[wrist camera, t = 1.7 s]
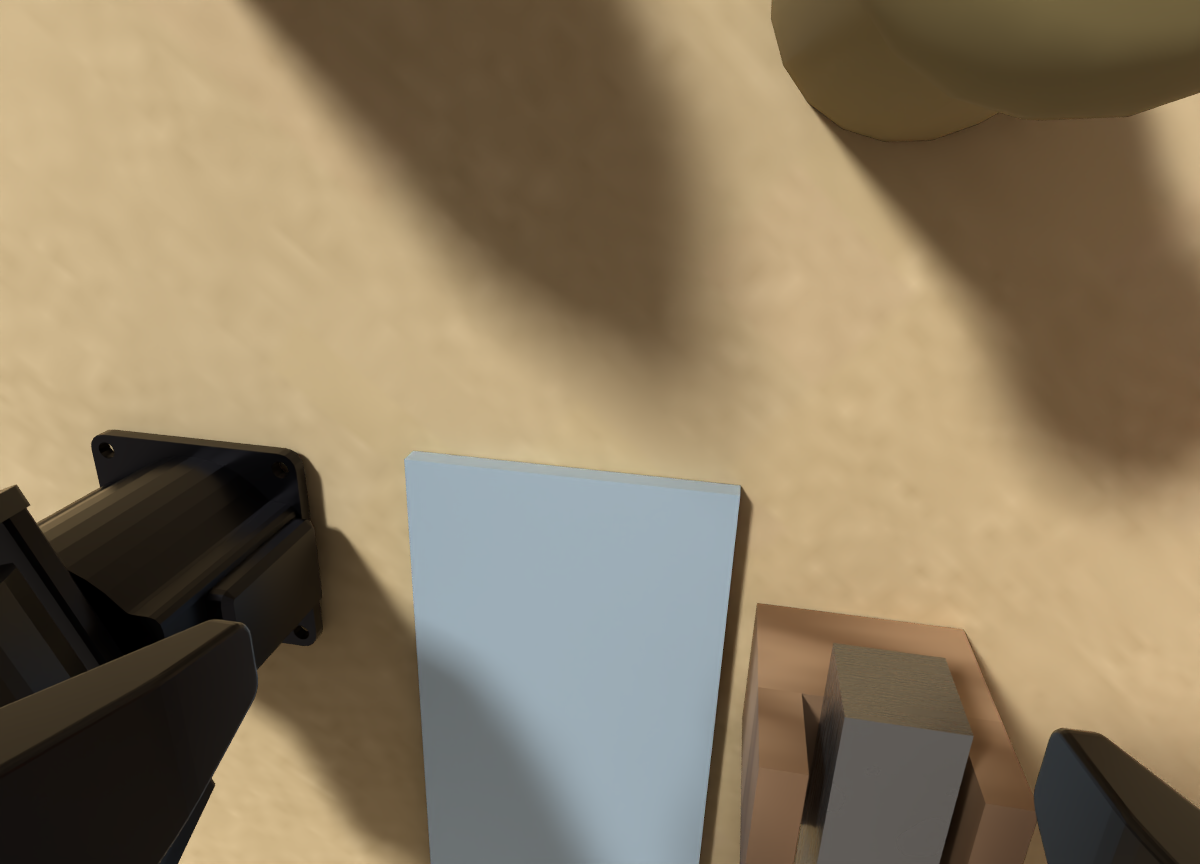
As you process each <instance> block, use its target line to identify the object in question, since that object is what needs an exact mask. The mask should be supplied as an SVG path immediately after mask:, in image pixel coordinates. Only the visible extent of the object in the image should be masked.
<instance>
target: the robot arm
mask: <svg viewBox="0 0 1200 864" xmlns="http://www.w3.org/2000/svg"><path fill="white" fill-rule="evenodd" d="M109 444H110V445H111V446H112V447H113V449H114V451H115V452H114V451H113V450H112V449H111V448H110V445H109ZM91 448H92V453H93V457H94V462H95V466H96V471H97V475H98V479H99V484H100V488H98V489H96V490H95V491H93V492H91V493H89V494H87V495H86V496H84V497H82V498H80V499H79V500H77V501H75V502H73V503H71V504H70V505H68V506H66V507H64V508H62V509H61V510H59V511H57V512H55V513H54V514H52V515H50V516H48V517H46V518H45V519H43V520H41V521H39V522H38V523H36V522H35V520H34V519H33V517H32V516H31V514H30V513H29V511H28V510H27V507H28V506H30V504H29V502H28V501H27V499H26V498H25V496H24V495H23V493H22V492H21V490H20V489H19V487H18V486H17V485H13V486H11V487H8V488H5V489H3V490H0V864H178V862H179V860H180V858H181V856H182V854H183V852H184V850H185V848H186V846H187V843H188V841H189V839H190V837H191V835H192V833H193V831H194V829H195V827H196V825H197V822H198V820H199V818H200V816H201V814H202V812H203V810H204V808H205V806H206V804H207V801H208V799H209V797H210V795H211V793H212V791H213V789H214V787H215V783H214V781H213V780H212V776H213V774H214V772H215V771H216V769H217V767H218V765H219V763H220V761H221V760H222V758H223V756H224V754H225V752H226V750H227V748H228V747H229V745H230V743H231V741H232V739H233V737H234V735H235V734H236V732H237V730H238V728H239V726H240V724H241V723H242V721H243V719H244V717H245V715H246V713H247V711H248V710H249V708H250V706H251V704H252V702H253V700H254V698H255V695H256V692H257V687H258V675H257V669H258V668H259V667H260V666H261V665H262V664H263V663H264V662H265V660H266V659H267V658H268V657H269V656H270V655H271V654H272V653H273V652H274V650H275V649H276V648H277V647H278V646H279V645H280V644H281V643H287V644H294V645H301V646H309V645H311V644H313V643H314V642H315V641H316V639H317V638H318V637H319V636H320V634H321V633H322V630H323V624H322V615H321V607H320V599H321V598H322V590H321V581H320V573H319V564H318V555H317V547H316V538H315V529H314V527H313V525H312V523H311V521H310V514H309V505H308V497H307V488H306V480H305V471H304V465H303V462H302V459H301V458H300V457H299V455H298V454H297V453H295V452H294V451H292V450H290V449H286V448H278V447H269V446H259V445H250V444H241V443H232V442H223V441H213V440H204V439H195V438H186V437H176V436H167V435H158V434H149V433H140V432H130V431H121V430H107V431H105V432H103V433H101V434H99V435H97V436H96V437H94V438H93V440H92V442H91ZM280 462H281V463H284V464H285V465H286V466H287V468H288V471H289V472H286V471H284V470H283V469H282V468H281V466H280V464H279V463H280ZM301 626H303V627H305V628H306V629H307V630H308V631H306V630H304V629H303V628H302V627H301ZM1034 807H1035V813H1036V818H1037V822H1038V826H1039V830H1040V834H1041V838H1042V842H1043V846H1044V851H1045V855H1046V859H1047V863H1048V864H1200V809H1199V808H1197V807H1196V806H1195V805H1193V804H1192V803H1191V802H1190V801H1188V800H1187V799H1186V798H1184V797H1183V796H1182V795H1180V794H1179V793H1178V792H1177V791H1175V790H1174V789H1173V788H1171V787H1170V786H1169V785H1167V784H1166V783H1165V782H1164V781H1162V780H1161V779H1160V778H1158V777H1157V776H1156V775H1154V774H1153V773H1152V772H1151V771H1149V770H1148V769H1147V768H1145V767H1144V766H1143V765H1141V764H1140V763H1139V762H1138V761H1136V760H1135V759H1134V758H1132V757H1131V756H1130V755H1128V754H1127V753H1126V752H1125V751H1123V750H1122V749H1121V748H1119V747H1118V746H1117V745H1115V744H1114V743H1113V742H1112V741H1110V740H1109V739H1108V738H1106V737H1105V736H1103V735H1101V734H1099V733H1096V732H1090V731H1083V730H1075V729H1067V728H1060V729H1057V730H1055V731H1054V732H1053V733H1052V735H1051V737H1050V739H1049V742H1048V745H1047V748H1046V752H1045V755H1044V758H1043V762H1042V765H1041V768H1040V772H1039V775H1038V778H1037V782H1036V785H1035V790H1034Z"/></svg>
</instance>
